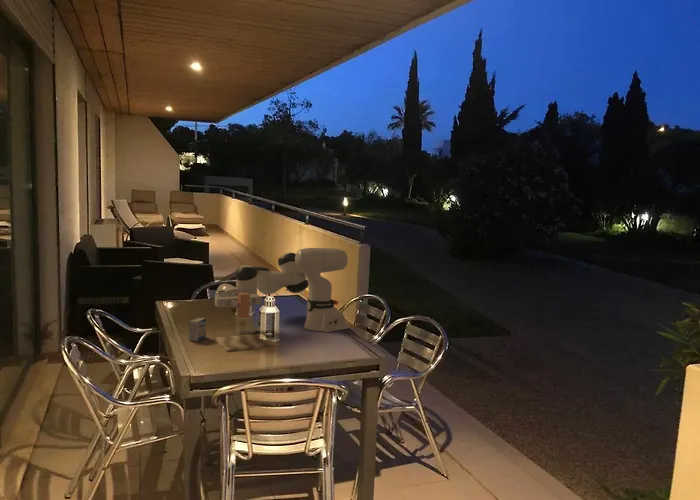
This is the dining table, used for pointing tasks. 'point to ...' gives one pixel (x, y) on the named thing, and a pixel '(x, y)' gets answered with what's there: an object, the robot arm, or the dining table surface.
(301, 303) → the dining table surface
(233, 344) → the birch board
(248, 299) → the terracotta block
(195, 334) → the medicine box
